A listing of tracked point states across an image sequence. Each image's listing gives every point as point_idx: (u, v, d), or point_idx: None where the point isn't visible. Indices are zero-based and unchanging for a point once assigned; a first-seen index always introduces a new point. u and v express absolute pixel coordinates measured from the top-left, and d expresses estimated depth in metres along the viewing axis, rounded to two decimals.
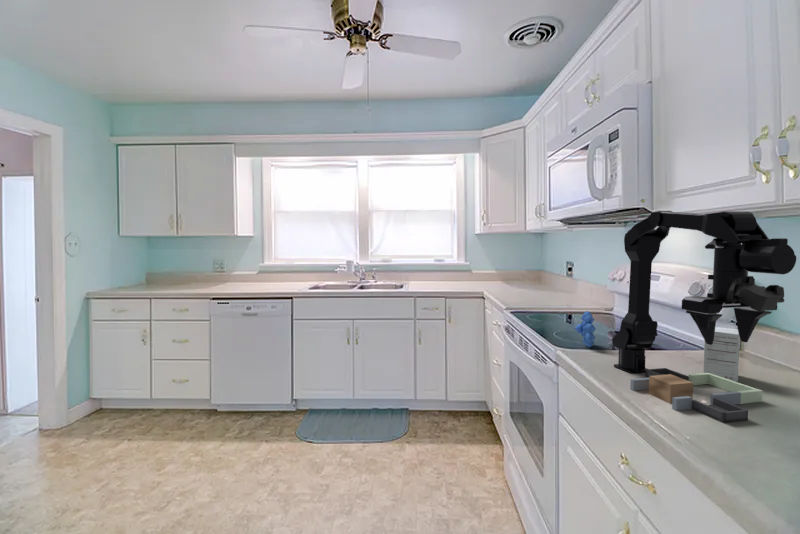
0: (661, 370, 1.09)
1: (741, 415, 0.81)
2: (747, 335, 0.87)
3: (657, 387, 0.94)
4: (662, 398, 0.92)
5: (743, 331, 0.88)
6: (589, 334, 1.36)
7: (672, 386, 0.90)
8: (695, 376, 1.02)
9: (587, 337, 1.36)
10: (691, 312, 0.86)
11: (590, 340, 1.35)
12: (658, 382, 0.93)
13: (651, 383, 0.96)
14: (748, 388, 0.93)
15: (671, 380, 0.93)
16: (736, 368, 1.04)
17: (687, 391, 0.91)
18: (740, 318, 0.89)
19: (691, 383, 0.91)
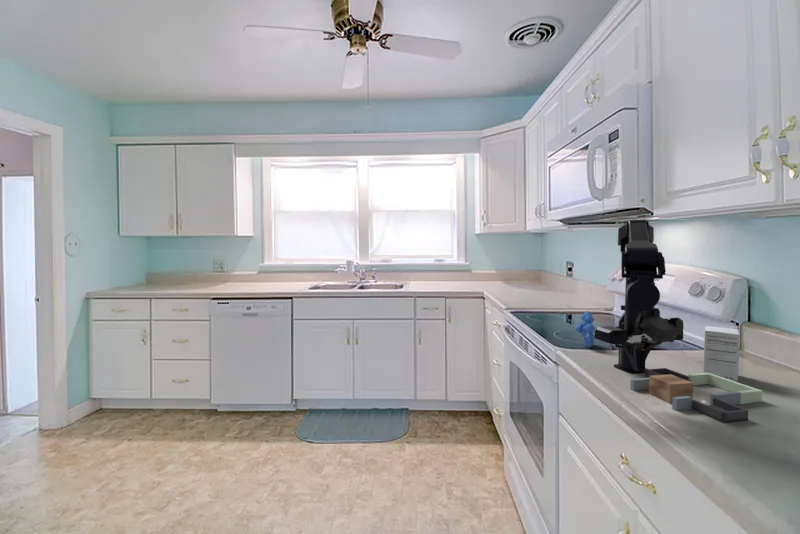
0: (661, 370, 1.09)
1: (741, 415, 0.81)
2: (640, 364, 0.91)
3: (657, 387, 0.94)
4: (662, 398, 0.92)
5: None
6: (589, 334, 1.36)
7: (671, 386, 0.90)
8: (695, 376, 1.02)
9: (587, 337, 1.36)
10: None
11: (590, 340, 1.35)
12: (658, 382, 0.93)
13: (650, 383, 0.96)
14: (748, 388, 0.93)
15: (670, 380, 0.93)
16: (736, 368, 1.04)
17: (687, 391, 0.91)
18: None
19: (691, 383, 0.91)
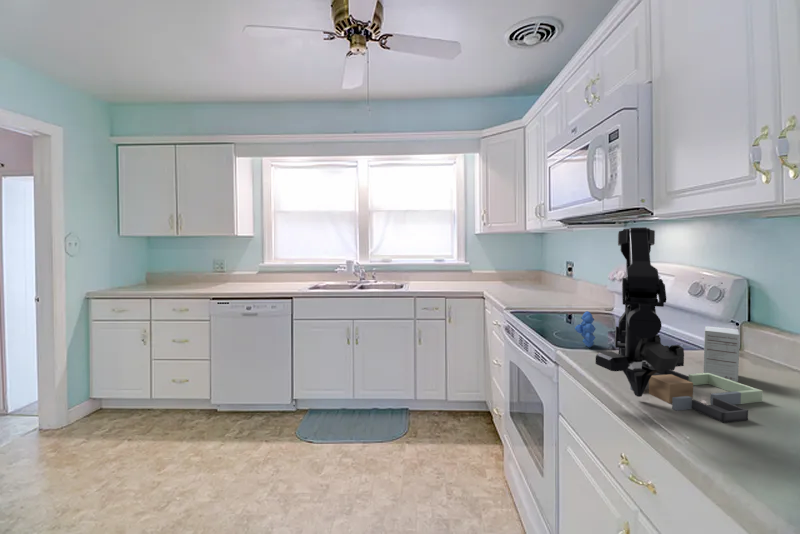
0: None
1: (741, 415, 0.81)
2: (641, 390, 0.92)
3: (657, 387, 0.94)
4: (662, 398, 0.93)
5: None
6: (589, 334, 1.36)
7: (671, 386, 0.90)
8: (695, 376, 1.02)
9: (587, 337, 1.36)
10: None
11: (590, 340, 1.35)
12: (658, 382, 0.93)
13: (650, 383, 0.96)
14: (748, 388, 0.93)
15: (670, 380, 0.93)
16: (736, 368, 1.04)
17: (687, 391, 0.91)
18: None
19: (691, 383, 0.91)
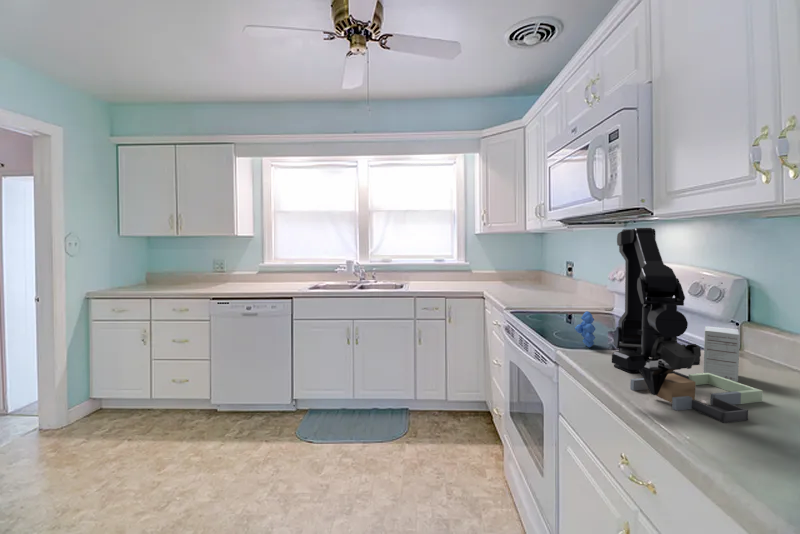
0: None
1: (741, 415, 0.81)
2: (657, 389, 0.92)
3: None
4: (664, 397, 0.93)
5: None
6: (589, 334, 1.36)
7: (674, 385, 0.91)
8: (695, 376, 1.02)
9: (587, 337, 1.36)
10: None
11: (590, 340, 1.35)
12: None
13: None
14: (748, 388, 0.93)
15: (673, 379, 0.93)
16: (736, 368, 1.04)
17: (689, 390, 0.91)
18: None
19: (693, 382, 0.92)
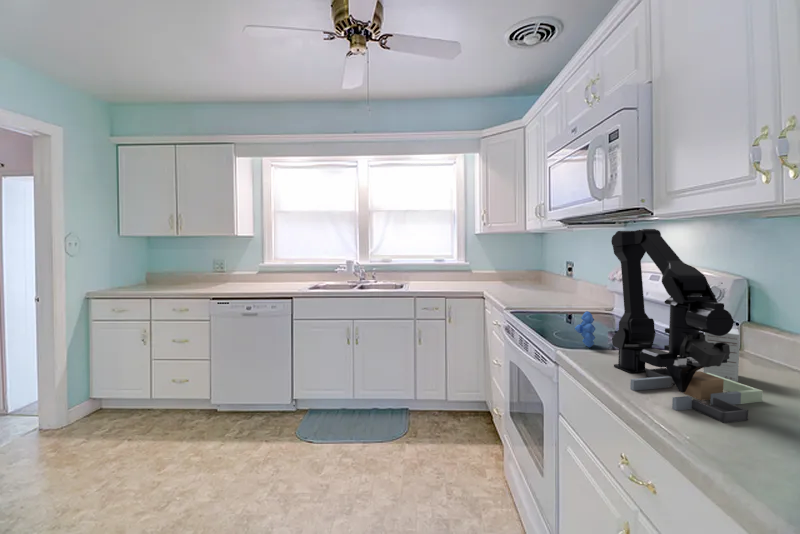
0: (661, 370, 1.09)
1: (741, 415, 0.81)
2: (684, 386, 0.94)
3: None
4: (692, 394, 0.94)
5: None
6: (589, 334, 1.36)
7: (703, 382, 0.92)
8: None
9: (587, 337, 1.36)
10: None
11: (590, 340, 1.35)
12: None
13: None
14: (748, 388, 0.93)
15: (701, 376, 0.95)
16: (736, 368, 1.04)
17: (718, 387, 0.93)
18: None
19: (721, 380, 0.93)
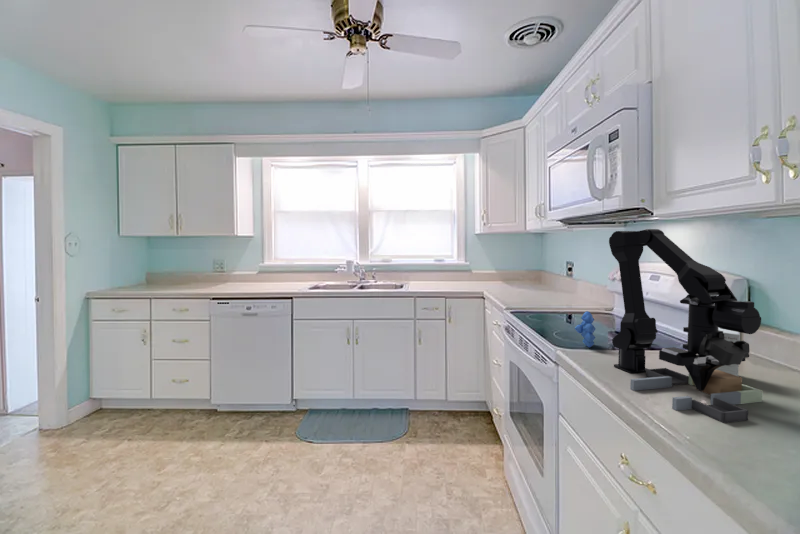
0: (661, 370, 1.09)
1: (741, 415, 0.81)
2: (703, 384, 0.95)
3: None
4: (711, 393, 0.95)
5: None
6: (589, 334, 1.36)
7: (722, 381, 0.93)
8: None
9: (587, 337, 1.36)
10: None
11: (590, 340, 1.35)
12: None
13: None
14: (748, 388, 0.93)
15: (719, 375, 0.96)
16: (736, 368, 1.04)
17: (736, 386, 0.94)
18: None
19: (740, 378, 0.94)
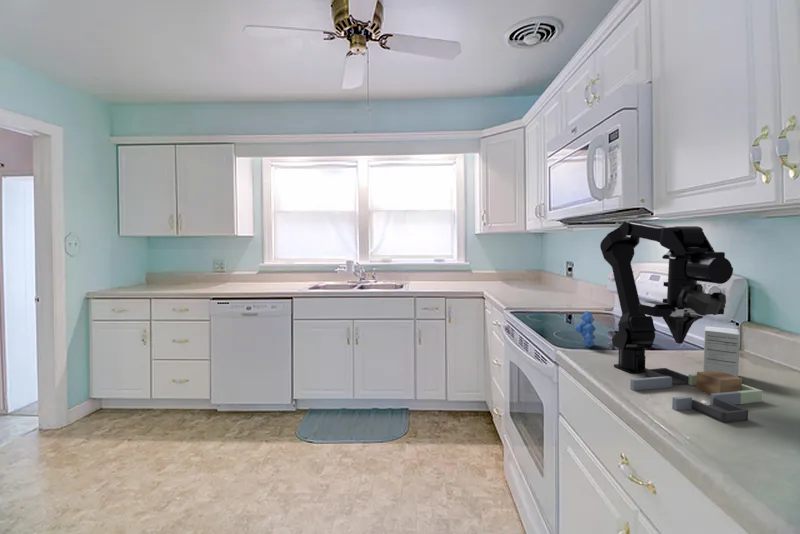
0: (661, 370, 1.09)
1: (741, 415, 0.81)
2: (682, 337, 0.97)
3: (706, 383, 0.96)
4: (711, 393, 0.95)
5: None
6: (589, 334, 1.36)
7: (722, 381, 0.93)
8: (695, 376, 1.02)
9: (587, 337, 1.36)
10: None
11: (590, 340, 1.35)
12: (707, 378, 0.96)
13: (698, 379, 0.98)
14: (748, 388, 0.93)
15: (719, 375, 0.96)
16: (736, 368, 1.04)
17: (736, 387, 0.94)
18: None
19: (740, 379, 0.94)
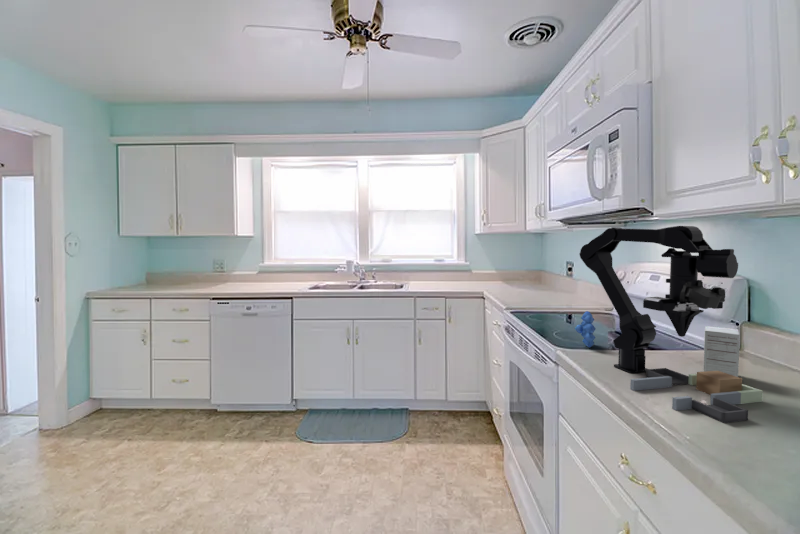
0: (661, 370, 1.09)
1: (741, 415, 0.81)
2: (684, 330, 1.02)
3: (706, 383, 0.96)
4: (711, 393, 0.95)
5: None
6: (589, 334, 1.36)
7: (721, 381, 0.93)
8: (695, 376, 1.02)
9: (587, 337, 1.36)
10: None
11: (590, 340, 1.35)
12: (707, 378, 0.96)
13: (698, 379, 0.98)
14: (748, 388, 0.93)
15: (719, 375, 0.96)
16: (736, 368, 1.04)
17: (736, 387, 0.94)
18: None
19: (740, 379, 0.94)
